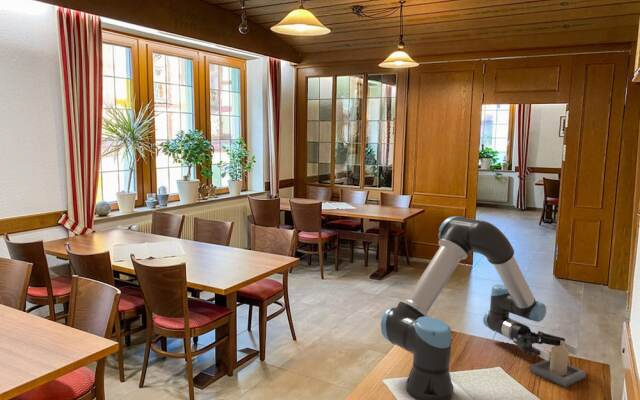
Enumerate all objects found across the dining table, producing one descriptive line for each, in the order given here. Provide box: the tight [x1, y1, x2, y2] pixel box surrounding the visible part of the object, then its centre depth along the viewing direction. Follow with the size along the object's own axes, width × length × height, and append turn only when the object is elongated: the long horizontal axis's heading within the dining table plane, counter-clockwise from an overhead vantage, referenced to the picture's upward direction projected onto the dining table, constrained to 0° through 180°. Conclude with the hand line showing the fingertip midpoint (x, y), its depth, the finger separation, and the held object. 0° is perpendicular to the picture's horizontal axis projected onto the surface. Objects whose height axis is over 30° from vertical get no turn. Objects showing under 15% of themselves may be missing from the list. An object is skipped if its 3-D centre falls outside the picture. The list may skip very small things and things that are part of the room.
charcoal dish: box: [529, 356, 587, 389], centre depth 173 cm, size 13×13×2 cm
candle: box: [550, 345, 570, 376], centre depth 172 cm, size 6×6×10 cm
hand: (562, 354), depth 171 cm, fingers open, 13 cm apart
